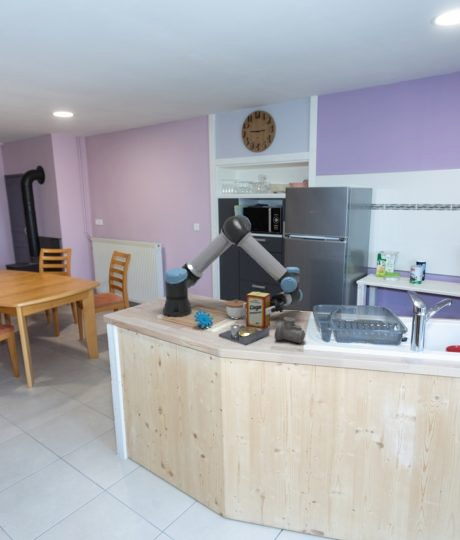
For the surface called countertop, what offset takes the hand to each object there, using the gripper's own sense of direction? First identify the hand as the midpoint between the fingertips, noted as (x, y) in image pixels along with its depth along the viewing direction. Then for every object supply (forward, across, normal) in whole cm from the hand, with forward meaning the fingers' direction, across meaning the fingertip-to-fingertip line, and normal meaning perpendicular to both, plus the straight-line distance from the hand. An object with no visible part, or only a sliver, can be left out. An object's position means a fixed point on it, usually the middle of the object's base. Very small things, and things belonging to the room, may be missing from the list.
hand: (254, 309), depth 183 cm
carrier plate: (+12, -4, -9) cm, 16 cm away
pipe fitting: (+4, -23, -9) cm, 25 cm away
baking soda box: (-3, 0, -9) cm, 10 cm away
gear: (+15, +19, -9) cm, 26 cm away
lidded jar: (-6, +17, -9) cm, 20 cm away
